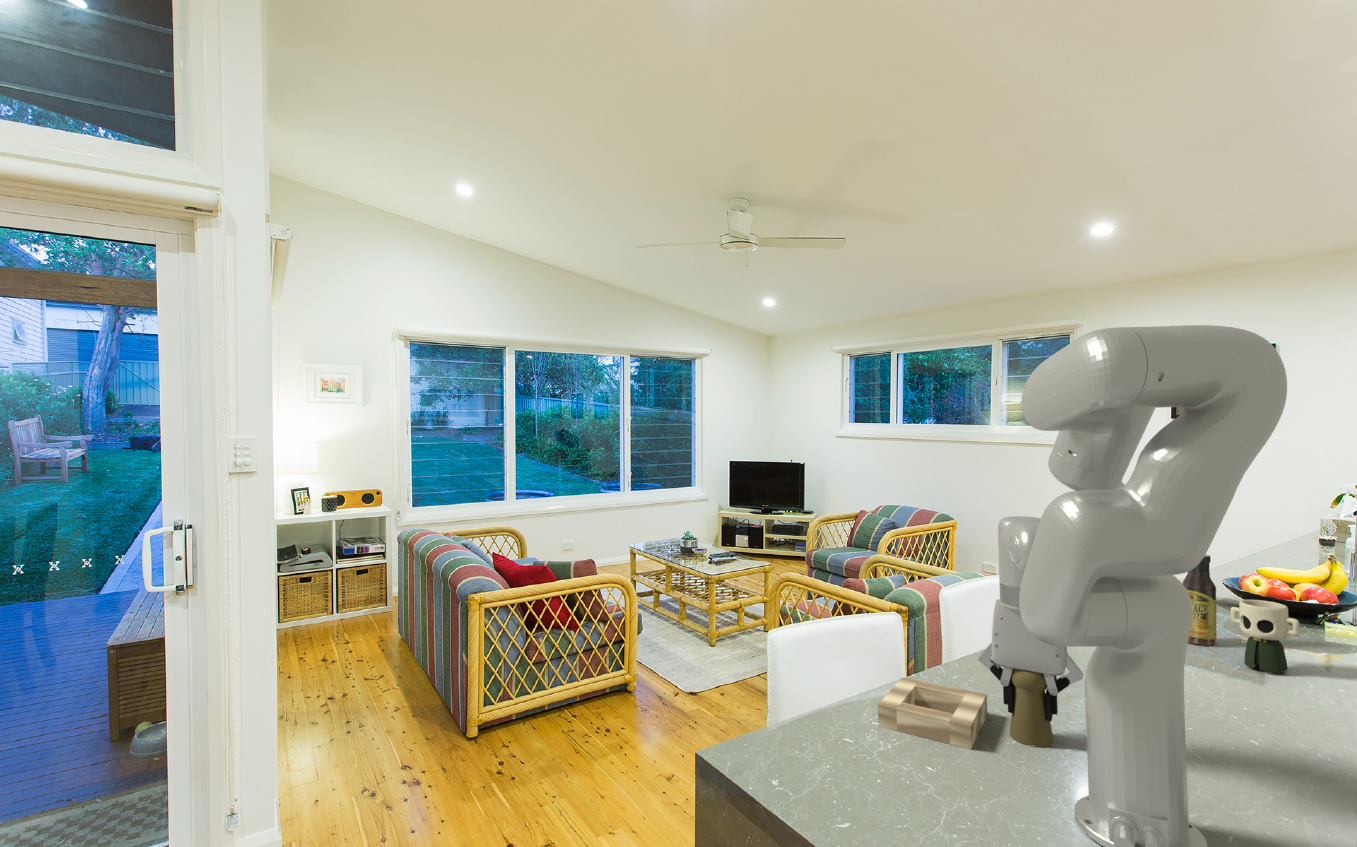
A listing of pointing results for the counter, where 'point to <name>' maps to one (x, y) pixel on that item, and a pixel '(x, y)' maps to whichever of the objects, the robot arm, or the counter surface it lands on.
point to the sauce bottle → (1202, 604)
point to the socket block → (934, 712)
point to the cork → (1030, 710)
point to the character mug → (1265, 633)
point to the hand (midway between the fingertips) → (1030, 712)
